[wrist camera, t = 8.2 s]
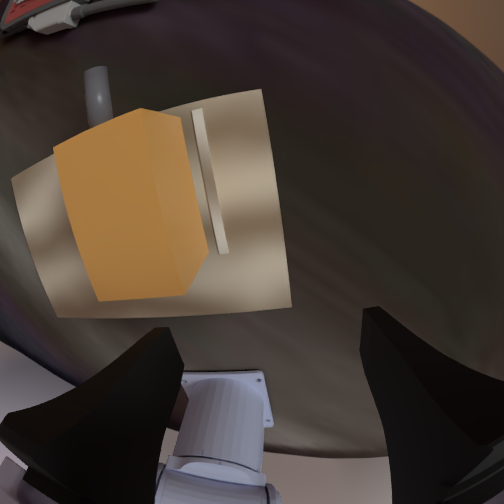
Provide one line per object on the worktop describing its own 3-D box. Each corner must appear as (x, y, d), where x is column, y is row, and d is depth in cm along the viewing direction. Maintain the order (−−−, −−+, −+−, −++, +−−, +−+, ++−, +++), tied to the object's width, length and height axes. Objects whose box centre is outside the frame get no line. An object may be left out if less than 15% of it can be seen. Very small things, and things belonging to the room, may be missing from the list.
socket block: (208, 251, 16) (185, 294, 12) (137, 261, 17) (99, 301, 12) (172, 70, 12) (132, 45, 8) (100, 98, 13) (47, 91, 8)
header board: (290, 297, 20) (294, 338, 15) (64, 311, 22) (38, 337, 18) (261, 92, 15) (258, 74, 10) (20, 175, 17) (-16, 187, 13)
